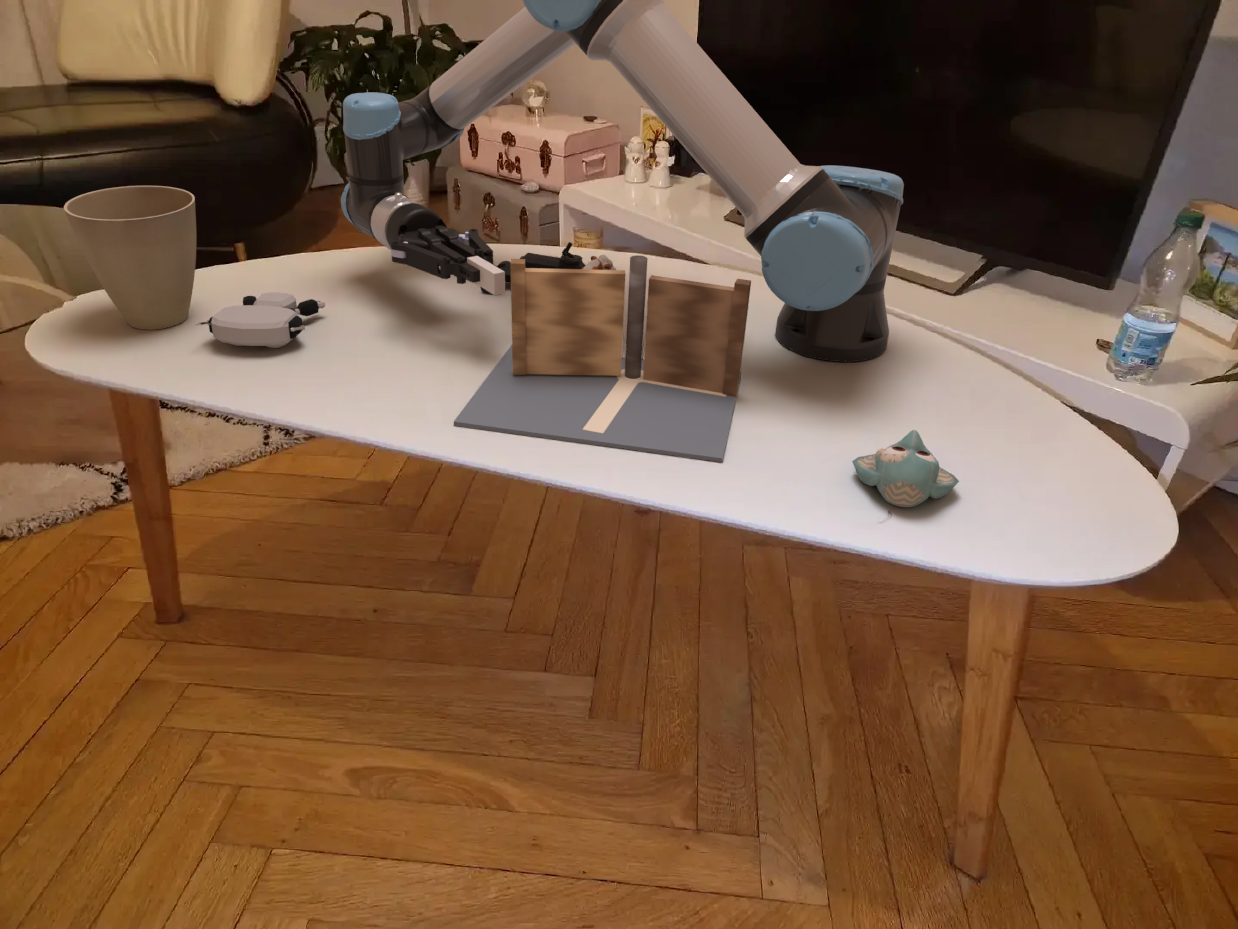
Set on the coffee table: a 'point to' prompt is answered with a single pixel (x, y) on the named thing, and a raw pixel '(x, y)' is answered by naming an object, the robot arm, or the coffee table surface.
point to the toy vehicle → (543, 263)
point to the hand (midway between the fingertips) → (499, 283)
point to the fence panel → (566, 320)
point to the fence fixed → (686, 331)
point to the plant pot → (140, 249)
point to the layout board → (602, 411)
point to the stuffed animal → (905, 472)
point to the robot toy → (262, 320)
